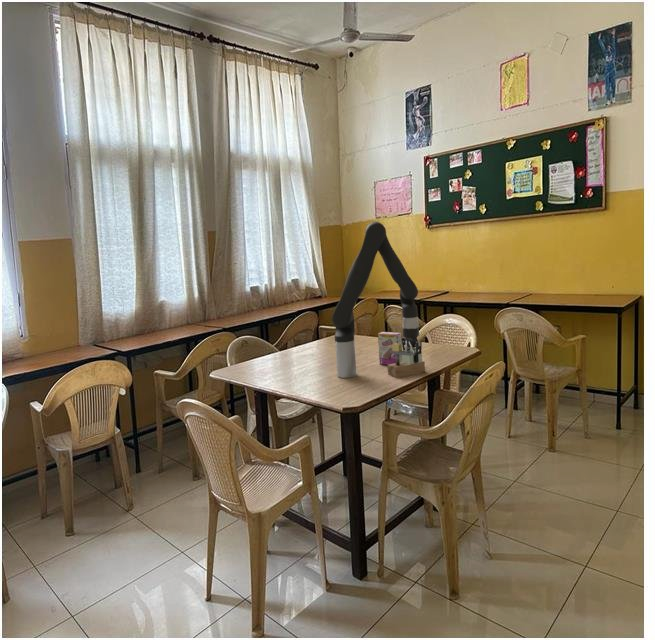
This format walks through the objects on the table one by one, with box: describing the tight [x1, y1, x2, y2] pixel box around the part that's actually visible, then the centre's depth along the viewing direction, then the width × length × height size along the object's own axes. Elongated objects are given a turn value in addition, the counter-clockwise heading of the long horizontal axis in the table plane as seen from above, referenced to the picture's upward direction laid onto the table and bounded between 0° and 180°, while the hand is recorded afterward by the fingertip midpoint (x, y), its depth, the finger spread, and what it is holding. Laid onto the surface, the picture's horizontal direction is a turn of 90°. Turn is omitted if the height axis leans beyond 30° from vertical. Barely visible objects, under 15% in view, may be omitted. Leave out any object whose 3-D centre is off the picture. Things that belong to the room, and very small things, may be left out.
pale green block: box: [402, 350, 423, 364], centre depth 239 cm, size 6×7×5 cm
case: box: [387, 360, 426, 379], centre depth 239 cm, size 7×16×5 cm, turn 114°
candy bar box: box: [377, 331, 403, 366], centre depth 256 cm, size 11×5×16 cm, turn 56°
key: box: [390, 343, 413, 365], centre depth 234 cm, size 2×11×10 cm, turn 48°
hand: (412, 361), depth 240 cm, fingers closed on pale green block, 6 cm apart
